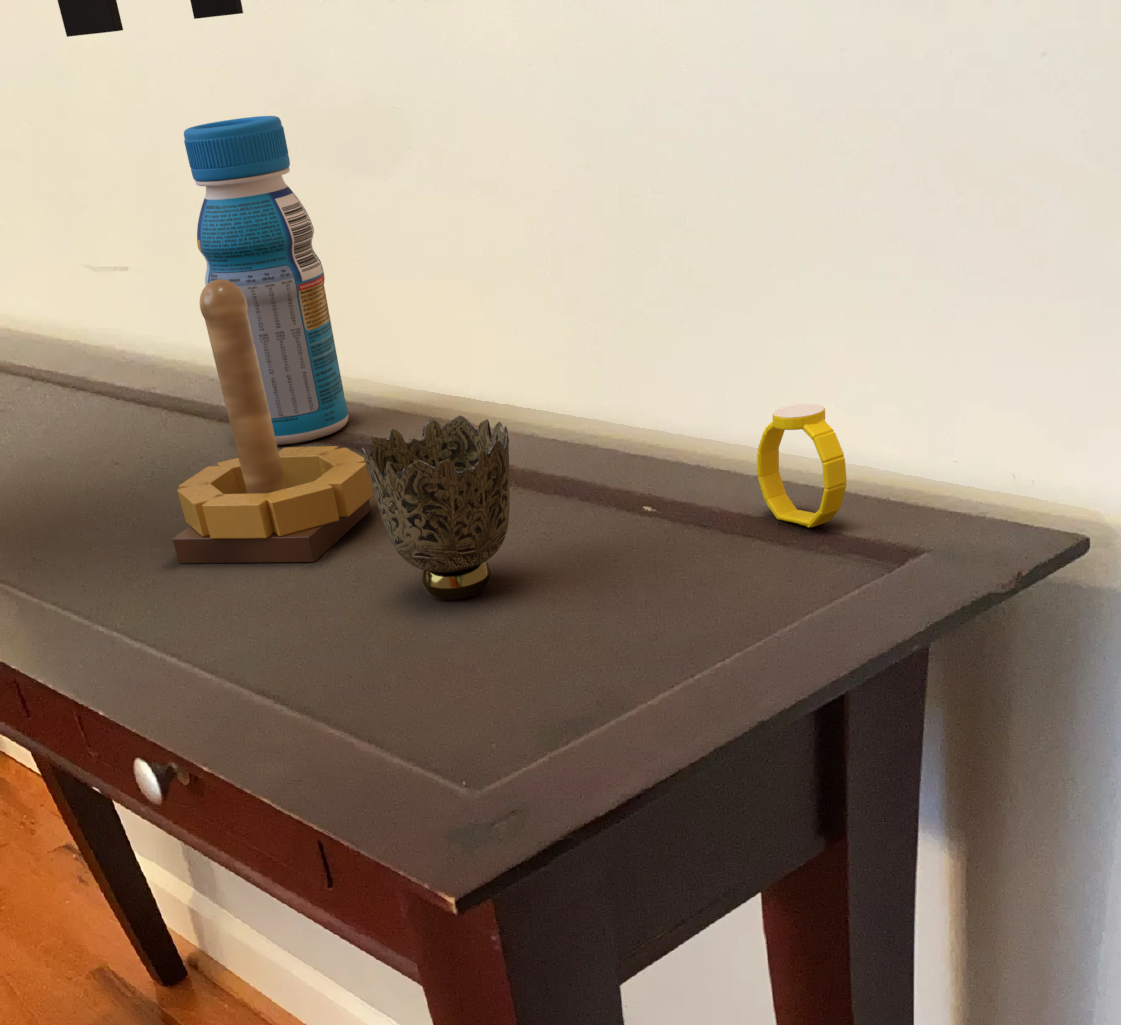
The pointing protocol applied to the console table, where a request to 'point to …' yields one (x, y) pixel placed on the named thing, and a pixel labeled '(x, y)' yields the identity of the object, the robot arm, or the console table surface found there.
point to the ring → (277, 495)
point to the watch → (829, 453)
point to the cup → (444, 501)
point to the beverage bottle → (269, 269)
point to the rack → (250, 442)
